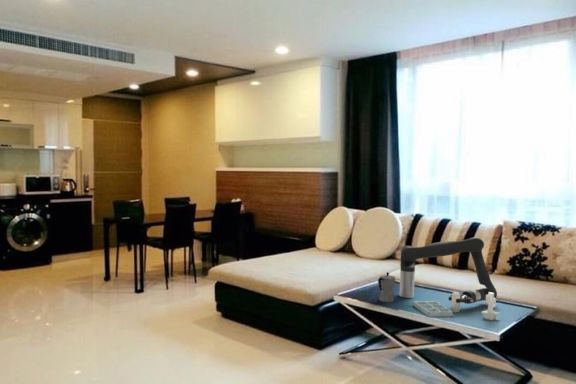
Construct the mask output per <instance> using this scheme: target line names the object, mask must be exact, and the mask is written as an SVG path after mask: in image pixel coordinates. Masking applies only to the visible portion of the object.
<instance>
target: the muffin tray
mask: <svg viewBox="0 0 576 384" xmlns="http://www.w3.org/2000/svg"><path fill="white" fill-rule="evenodd" d="M412 306H413V307H414V306H415V308H416V309H417V310H419V311H420V312H422V313H423V314H424V315H425V316H427V317H428V318H429V317H431V318H433V317H453V316H454V312H453V311H451V309H449V308H447V307H446V306H445V305H443V304H442V303H440V302H439V301H437V300H436V301H435V300H433V301H431V300H429V301H427V300H425V301H424V300H423V301H422V300H419V301H416V300H415V301H414V300H413V304H412Z"/></svg>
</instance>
